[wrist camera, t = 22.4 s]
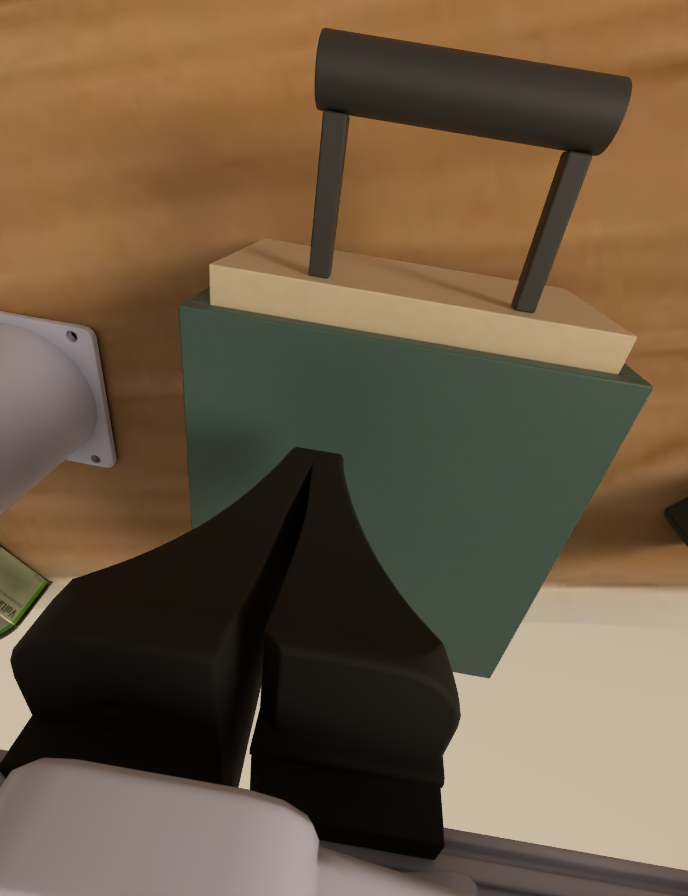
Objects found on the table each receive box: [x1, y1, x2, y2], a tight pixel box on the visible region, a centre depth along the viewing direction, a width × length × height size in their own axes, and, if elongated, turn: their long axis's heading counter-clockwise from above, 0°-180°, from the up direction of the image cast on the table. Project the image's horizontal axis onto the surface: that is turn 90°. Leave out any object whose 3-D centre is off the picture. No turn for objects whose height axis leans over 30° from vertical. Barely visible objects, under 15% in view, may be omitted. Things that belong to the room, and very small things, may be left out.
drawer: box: [209, 28, 637, 374], centre depth 17 cm, size 19×12×6 cm, turn 172°
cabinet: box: [179, 287, 653, 678], centre depth 19 cm, size 14×13×8 cm
